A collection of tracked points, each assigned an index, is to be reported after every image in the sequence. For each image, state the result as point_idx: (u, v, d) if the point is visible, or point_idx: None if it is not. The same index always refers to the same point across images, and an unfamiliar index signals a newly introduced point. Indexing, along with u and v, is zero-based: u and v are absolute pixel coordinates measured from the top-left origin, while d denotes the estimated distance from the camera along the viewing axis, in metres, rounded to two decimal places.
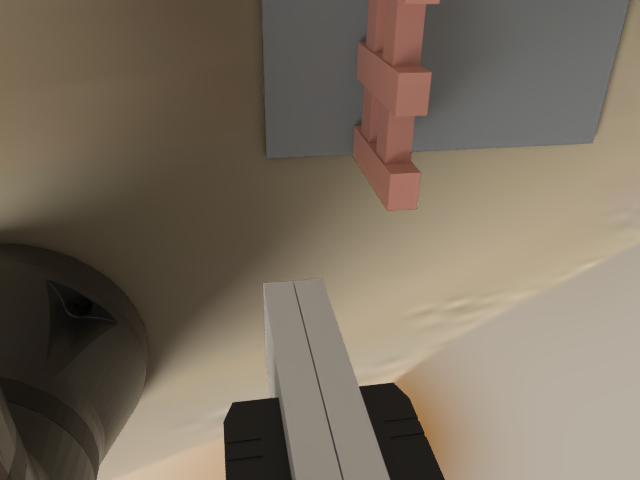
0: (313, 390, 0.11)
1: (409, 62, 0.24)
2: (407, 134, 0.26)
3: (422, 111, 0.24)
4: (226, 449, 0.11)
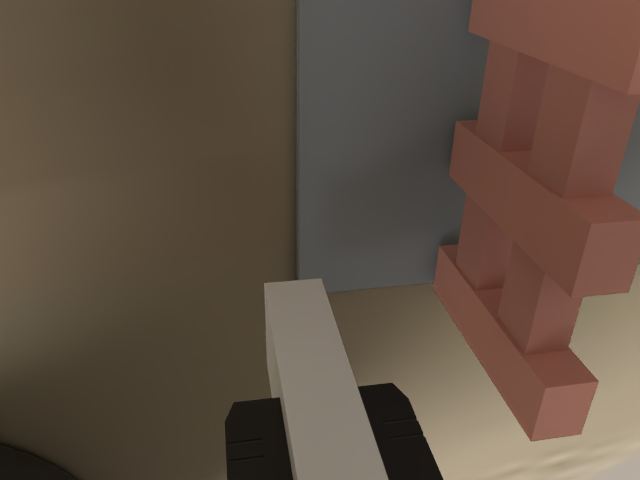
0: (314, 390, 0.11)
1: (594, 190, 0.13)
2: (570, 307, 0.14)
3: (621, 286, 0.12)
4: (227, 449, 0.11)
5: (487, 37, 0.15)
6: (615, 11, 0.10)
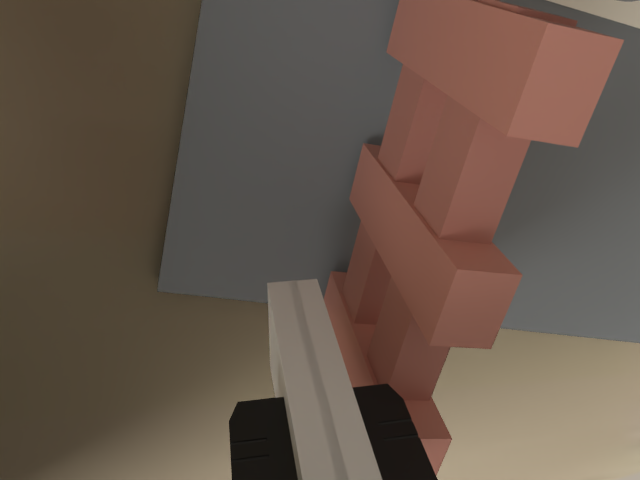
0: (318, 390, 0.11)
1: (472, 235, 0.12)
2: (436, 355, 0.13)
3: (484, 341, 0.12)
4: (232, 448, 0.11)
5: (400, 60, 0.14)
6: (508, 46, 0.10)
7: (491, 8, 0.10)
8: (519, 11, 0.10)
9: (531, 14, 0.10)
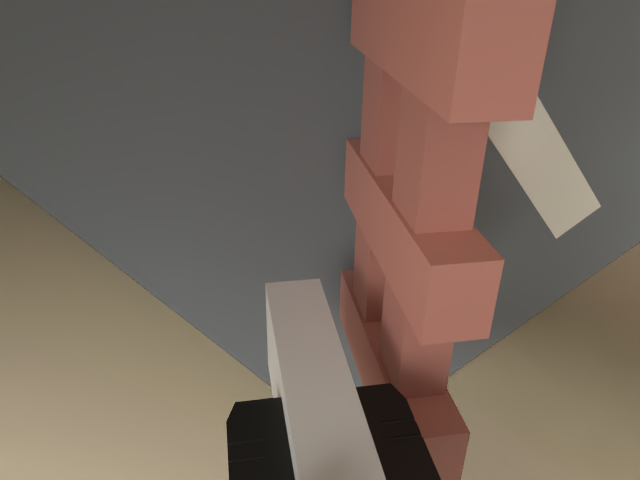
0: (316, 390, 0.11)
1: (450, 224, 0.11)
2: (441, 349, 0.13)
3: (479, 332, 0.11)
4: (229, 449, 0.11)
5: (361, 50, 0.14)
6: (438, 27, 0.09)
7: None
8: None
9: None
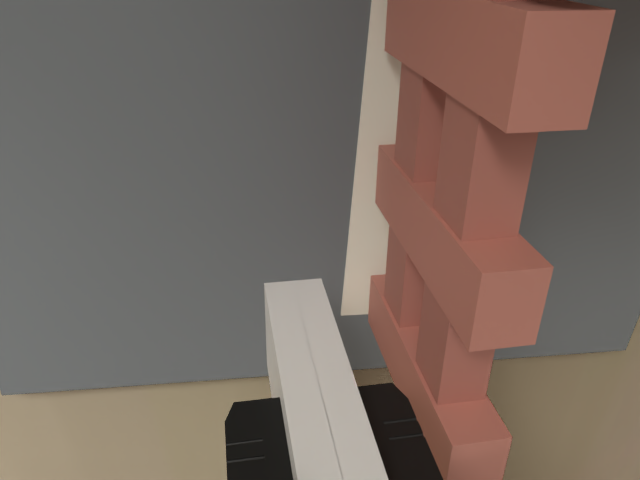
0: (314, 390, 0.11)
1: (496, 231, 0.11)
2: (483, 355, 0.13)
3: (526, 338, 0.11)
4: (227, 449, 0.11)
5: (398, 58, 0.14)
6: (493, 38, 0.09)
7: None
8: None
9: None
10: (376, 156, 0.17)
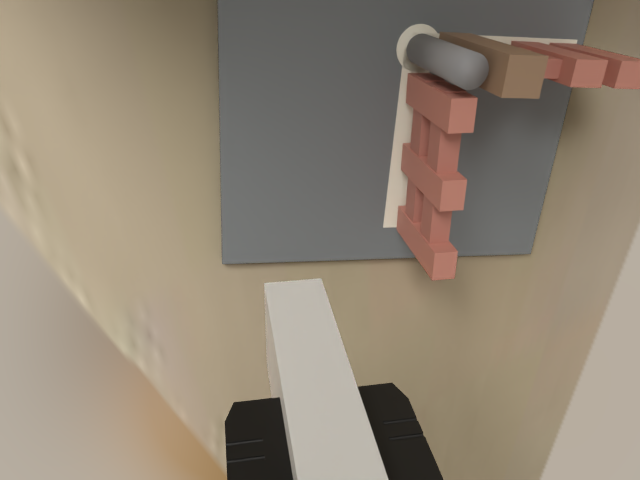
0: (314, 390, 0.11)
1: (449, 169, 0.32)
2: (446, 221, 0.33)
3: (459, 207, 0.32)
4: (227, 449, 0.11)
5: (412, 106, 0.35)
6: (443, 104, 0.30)
7: (437, 91, 0.30)
8: (445, 92, 0.30)
9: (449, 92, 0.30)
10: (401, 148, 0.37)
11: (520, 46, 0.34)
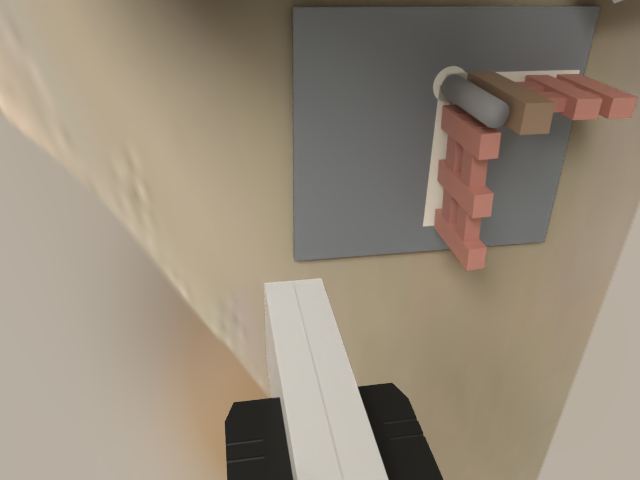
0: (314, 390, 0.11)
1: (478, 185, 0.41)
2: (477, 224, 0.42)
3: (488, 214, 0.40)
4: (227, 449, 0.11)
5: (446, 132, 0.43)
6: (474, 137, 0.38)
7: (469, 126, 0.39)
8: (475, 128, 0.38)
9: (479, 128, 0.38)
10: (437, 163, 0.46)
11: (533, 81, 0.42)
